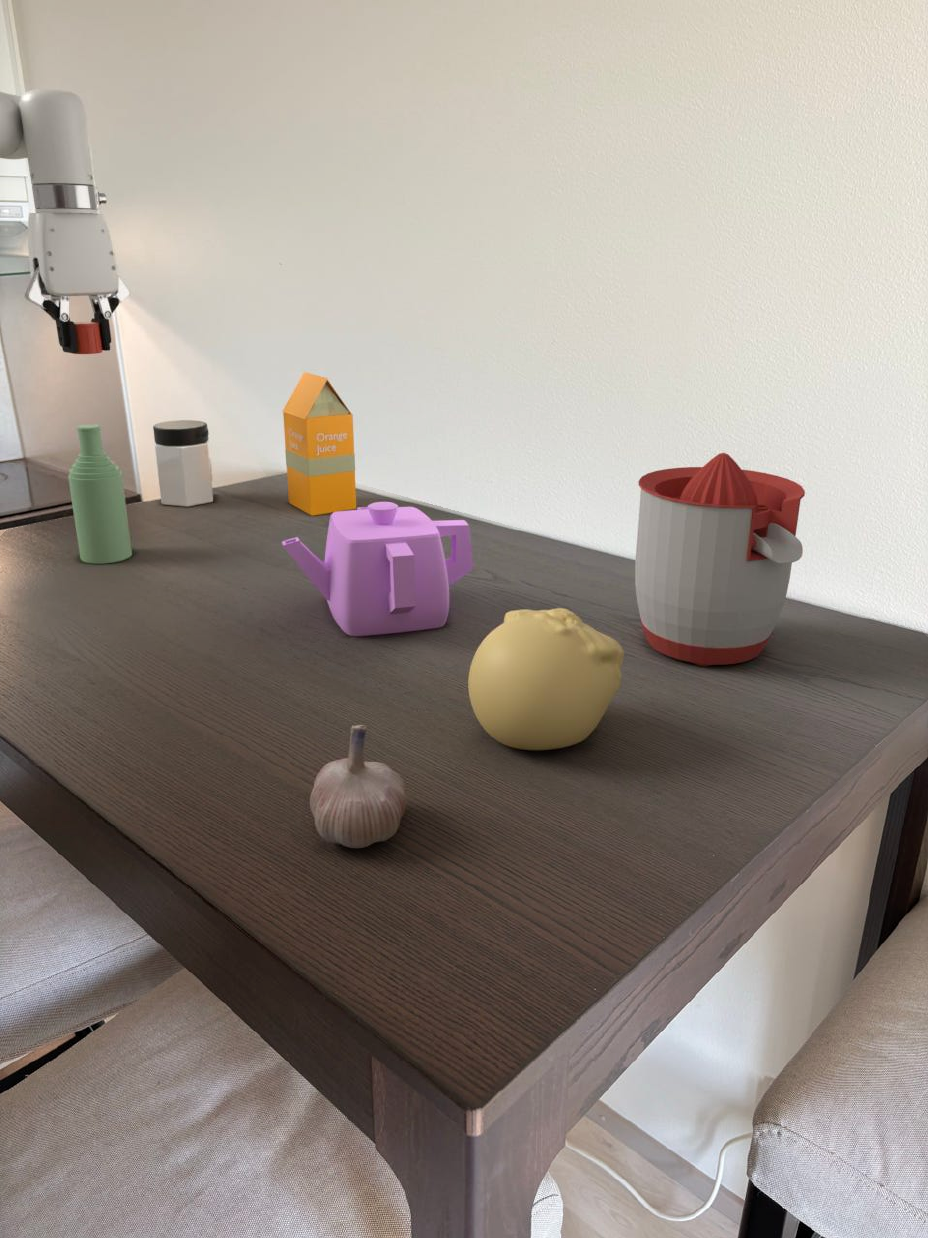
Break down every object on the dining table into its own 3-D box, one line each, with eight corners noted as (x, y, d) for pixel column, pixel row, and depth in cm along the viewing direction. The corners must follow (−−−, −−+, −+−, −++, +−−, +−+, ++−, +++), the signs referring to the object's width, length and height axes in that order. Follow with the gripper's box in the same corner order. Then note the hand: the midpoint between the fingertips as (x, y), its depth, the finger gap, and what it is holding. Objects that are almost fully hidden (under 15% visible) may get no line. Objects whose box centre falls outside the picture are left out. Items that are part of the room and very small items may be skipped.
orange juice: (332, 496, 155) (326, 370, 147) (357, 508, 148) (352, 376, 140) (287, 503, 151) (279, 373, 143) (310, 515, 144) (303, 380, 136)
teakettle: (412, 652, 96) (410, 534, 92) (277, 622, 104) (269, 512, 99) (487, 600, 110) (488, 496, 106) (363, 577, 118) (360, 478, 113)
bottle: (70, 561, 123) (49, 429, 117) (98, 547, 129) (80, 420, 122) (114, 565, 122) (96, 431, 115) (141, 550, 127) (125, 422, 121)
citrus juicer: (714, 698, 87) (738, 482, 80) (596, 634, 101) (607, 446, 94) (830, 662, 94) (862, 462, 87) (705, 608, 108) (723, 431, 101)
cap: (79, 354, 125) (75, 324, 124) (66, 352, 128) (62, 322, 126) (107, 352, 128) (104, 322, 126) (94, 350, 130) (90, 321, 129)
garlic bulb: (364, 787, 72) (361, 692, 70) (435, 824, 68) (434, 724, 65) (286, 830, 67) (278, 729, 64) (357, 873, 63) (352, 766, 60)
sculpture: (637, 732, 81) (647, 614, 77) (541, 783, 73) (546, 654, 69) (537, 689, 89) (541, 579, 85) (441, 731, 81) (441, 612, 77)
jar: (214, 505, 149) (207, 428, 145) (159, 508, 147) (150, 430, 143) (214, 492, 157) (208, 418, 153) (163, 494, 155) (155, 420, 151)
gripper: (113, 204, 129) (130, 344, 136) (-14, 200, 118) (12, 353, 124) (141, 202, 124) (157, 348, 131) (12, 198, 113) (37, 358, 120)
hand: (86, 349), depth 128 cm, fingers closed on cap, 3 cm apart
